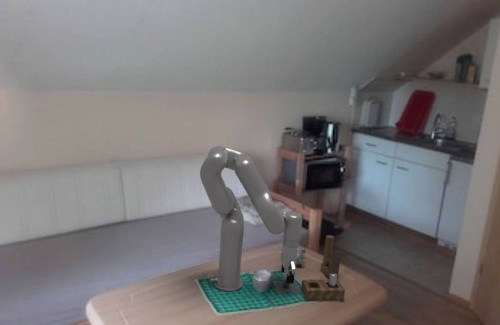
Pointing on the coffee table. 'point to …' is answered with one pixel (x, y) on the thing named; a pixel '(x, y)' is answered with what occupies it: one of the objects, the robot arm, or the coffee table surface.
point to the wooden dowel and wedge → (330, 258)
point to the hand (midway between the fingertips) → (287, 277)
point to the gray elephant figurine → (301, 257)
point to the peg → (285, 279)
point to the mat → (281, 289)
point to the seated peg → (332, 280)
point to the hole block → (322, 291)
